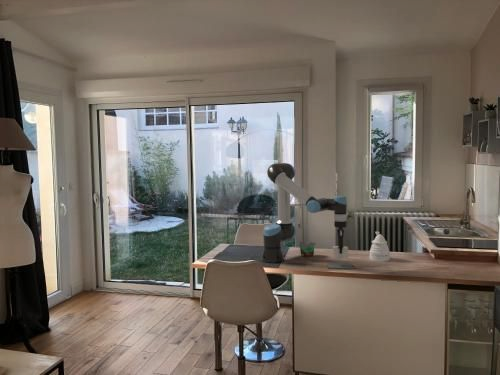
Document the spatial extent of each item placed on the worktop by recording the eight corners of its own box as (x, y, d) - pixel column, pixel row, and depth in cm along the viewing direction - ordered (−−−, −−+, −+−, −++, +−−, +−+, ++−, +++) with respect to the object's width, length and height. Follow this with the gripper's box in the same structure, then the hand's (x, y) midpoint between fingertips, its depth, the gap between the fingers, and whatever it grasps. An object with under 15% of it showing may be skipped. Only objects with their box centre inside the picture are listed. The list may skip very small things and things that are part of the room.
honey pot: (365, 258, 283) (365, 232, 282) (377, 255, 290) (377, 230, 289) (381, 262, 272) (382, 234, 271) (393, 259, 280) (394, 232, 279)
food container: (303, 258, 287) (303, 243, 286) (298, 256, 292) (298, 242, 292) (318, 256, 291) (318, 242, 291) (314, 254, 297) (314, 240, 296)
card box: (348, 259, 260) (348, 247, 260) (333, 258, 262) (333, 247, 261) (347, 257, 265) (347, 246, 265) (332, 256, 267) (332, 245, 266)
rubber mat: (328, 268, 259) (328, 267, 259) (327, 263, 272) (327, 262, 272) (353, 269, 256) (353, 268, 256) (351, 263, 269) (351, 262, 269)
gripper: (347, 222, 253) (347, 261, 254) (345, 218, 270) (345, 254, 272) (334, 222, 254) (335, 260, 255) (333, 218, 271) (333, 254, 273)
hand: (340, 257), depth 264 cm, fingers closed on card box, 5 cm apart
